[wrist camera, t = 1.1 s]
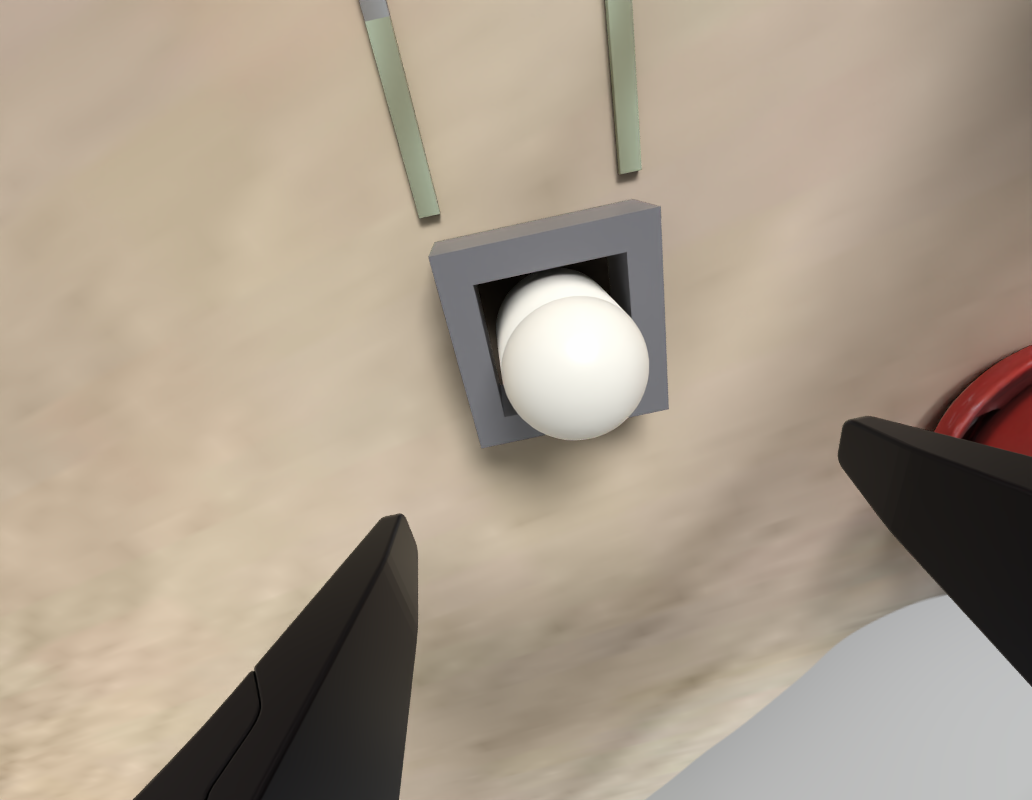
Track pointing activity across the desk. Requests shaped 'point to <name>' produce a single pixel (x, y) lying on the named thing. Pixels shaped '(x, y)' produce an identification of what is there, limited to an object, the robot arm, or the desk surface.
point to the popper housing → (539, 246)
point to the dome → (569, 355)
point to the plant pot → (996, 407)
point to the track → (405, 119)
